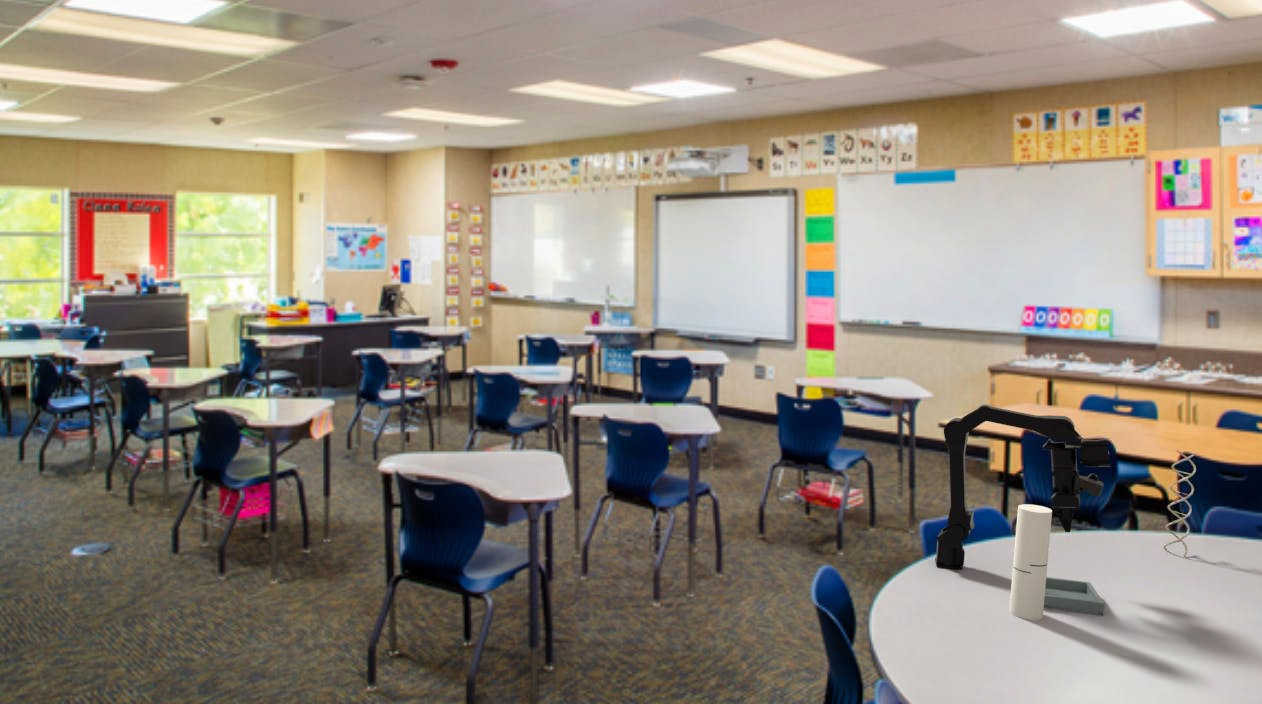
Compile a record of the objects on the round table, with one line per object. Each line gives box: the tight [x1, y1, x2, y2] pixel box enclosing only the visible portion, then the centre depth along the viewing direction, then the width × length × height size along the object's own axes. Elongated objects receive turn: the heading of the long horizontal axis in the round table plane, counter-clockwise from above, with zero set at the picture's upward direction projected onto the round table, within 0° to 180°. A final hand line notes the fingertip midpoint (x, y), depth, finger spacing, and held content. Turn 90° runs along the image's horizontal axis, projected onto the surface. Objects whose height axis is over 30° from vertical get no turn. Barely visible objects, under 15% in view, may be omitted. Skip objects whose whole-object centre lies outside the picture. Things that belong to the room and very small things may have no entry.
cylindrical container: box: [1008, 503, 1053, 621], centre depth 205 cm, size 7×7×25 cm
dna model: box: [1163, 449, 1197, 557], centre depth 256 cm, size 7×6×30 cm
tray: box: [1044, 576, 1105, 617], centre depth 216 cm, size 15×15×3 cm
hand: (1068, 527), depth 225 cm, fingers open, 9 cm apart
